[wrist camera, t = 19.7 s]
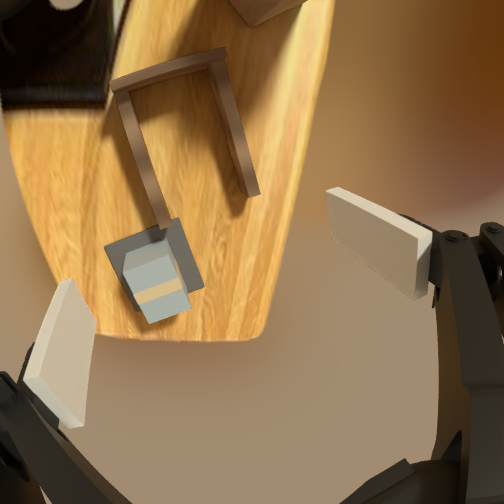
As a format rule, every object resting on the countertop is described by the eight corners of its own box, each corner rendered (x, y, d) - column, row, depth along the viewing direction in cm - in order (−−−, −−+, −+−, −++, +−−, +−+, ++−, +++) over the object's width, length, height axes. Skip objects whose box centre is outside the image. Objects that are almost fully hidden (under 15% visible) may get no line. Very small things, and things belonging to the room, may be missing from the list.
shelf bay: (115, 88, 32) (109, 81, 27) (215, 57, 34) (224, 46, 29) (159, 220, 41) (160, 235, 35) (251, 188, 43) (265, 197, 37)
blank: (125, 253, 40) (122, 272, 35) (166, 237, 41) (169, 254, 36) (148, 300, 44) (148, 324, 39) (186, 286, 45) (192, 308, 40)
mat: (104, 246, 40) (104, 247, 39) (178, 217, 41) (178, 217, 41) (136, 310, 44) (136, 311, 44) (204, 285, 46) (204, 286, 46)
